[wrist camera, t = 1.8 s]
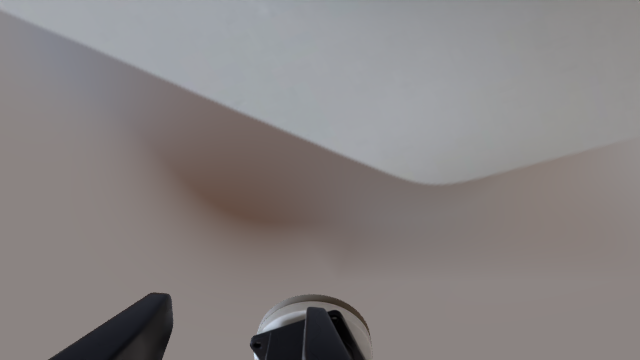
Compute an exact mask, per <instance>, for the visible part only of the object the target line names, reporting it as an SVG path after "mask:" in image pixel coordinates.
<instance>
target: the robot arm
mask: <svg viewBox="0 0 640 360" xmlns="http://www.w3.org/2000/svg"><path fill="white" fill-rule="evenodd" d="M333 317H336V318H337V319H332V318H333ZM172 328H173V312H172V300H171V296H170V295H169V294H165V293H150V294H148V295H147V296H145V297H144V298H142V299H141V300H139V301H137V302H136V303H134V304H133V305H131V306H130V307H128V308H127V309H125V310H124V311H122V312H121V313H119V314H118V315H116V316H114V317H113V318H111V319H110V320H108V321H107V322H105V323H104V324H102V325H101V326H99V327H98V328H96V329H95V330H93V331H92V332H90V333H88V334H87V335H85V336H84V337H82V338H81V339H79V340H78V341H76V342H75V343H73V344H72V345H70V346H68V347H67V348H66V349H64V350H62V351H61V352H59V353H58V354H56V355H55V356H53V357H52V358H50V359H49V360H162V358H163V355H164V352H165V349H166V347H167V344H168V341H169V338H170V335H171V332H172ZM257 342H258V343H259V344H258V343H257ZM250 347H251V348H252V350H253V351H254V353H255V354H256V356H257V357H258V359H259V360H366V359H365V357H364V355H363V353H362V351H361V349H360V348H359V346H358V344H357V342H356V340H355V338H354V336H353V334H352V332H351V330H350V329H349V327H348V325H347V323H346V321H345V319H344V317H343V315H342V314H341V312H340V311H338V310H331V311H328V312H327V311H326V310H325V309H324V308H320V307H308V308H307V310H306V319H303V320H300V321H297V322H294V323H291V324H288V325H285V326H282V327H279V328H276V329H273V330H270V331H267V332H264V333H261V334H258V335H255V336H253V337H252V338H251V343H250Z"/></svg>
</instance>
